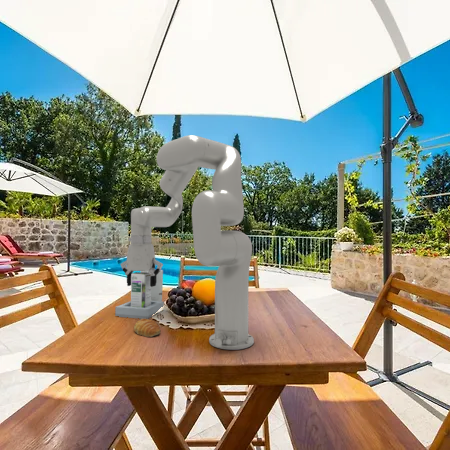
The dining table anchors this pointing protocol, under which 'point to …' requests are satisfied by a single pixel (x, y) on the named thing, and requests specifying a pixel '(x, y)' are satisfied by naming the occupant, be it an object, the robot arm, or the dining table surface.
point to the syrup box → (140, 289)
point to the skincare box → (157, 287)
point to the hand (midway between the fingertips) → (141, 285)
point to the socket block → (138, 310)
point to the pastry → (147, 328)
